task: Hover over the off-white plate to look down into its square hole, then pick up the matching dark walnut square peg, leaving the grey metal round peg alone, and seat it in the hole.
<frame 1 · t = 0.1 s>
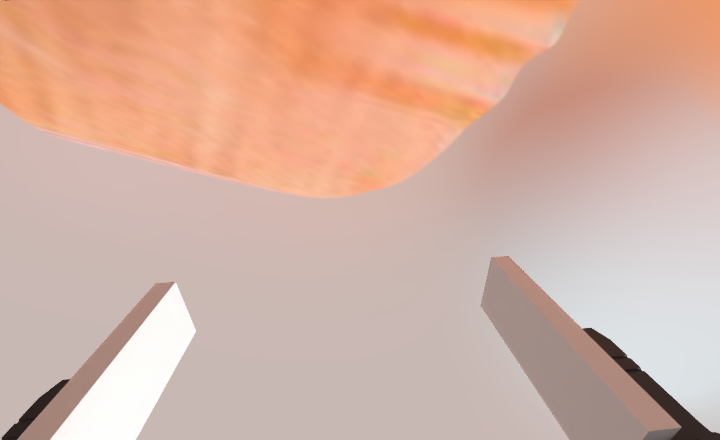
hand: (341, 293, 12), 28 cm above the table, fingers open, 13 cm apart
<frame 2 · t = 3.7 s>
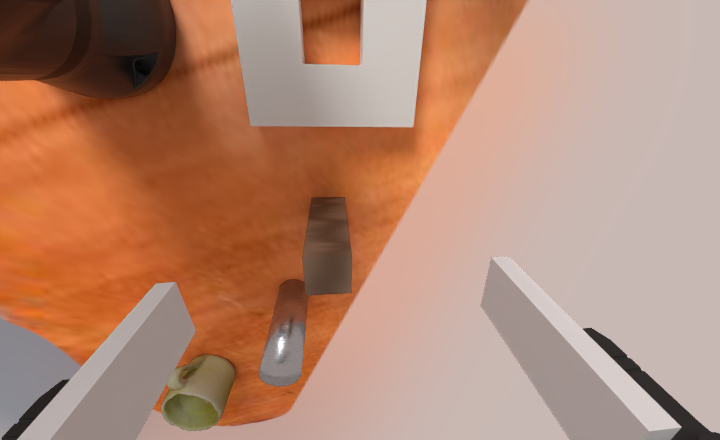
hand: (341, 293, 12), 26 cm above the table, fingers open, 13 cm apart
socket plate: (331, 33, 29), on the table
mug: (207, 361, 50), on the table
square peg: (328, 212, 39), on the table
round peg: (294, 291, 44), on the table
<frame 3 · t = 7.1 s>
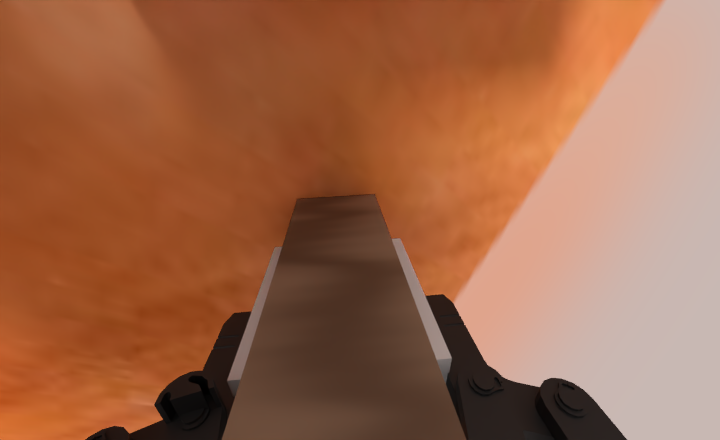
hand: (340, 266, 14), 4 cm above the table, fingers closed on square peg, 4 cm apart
square peg: (338, 230, 17), on the table, touching gripper
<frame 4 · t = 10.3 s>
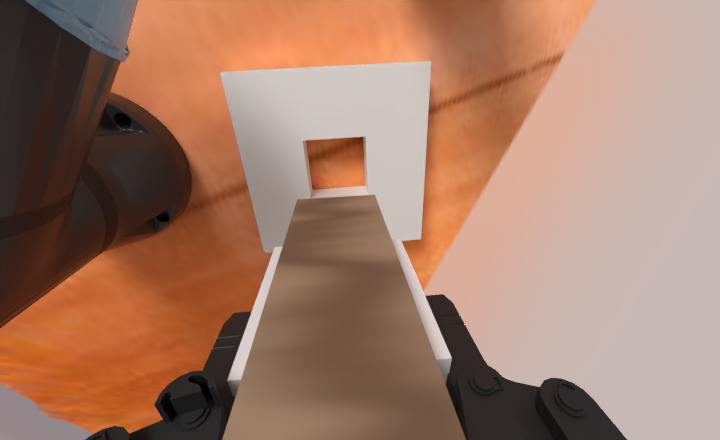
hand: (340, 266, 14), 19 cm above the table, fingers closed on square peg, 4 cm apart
socket plate: (336, 161, 30), on the table
square peg: (338, 230, 17), point 15 cm above the table, touching gripper
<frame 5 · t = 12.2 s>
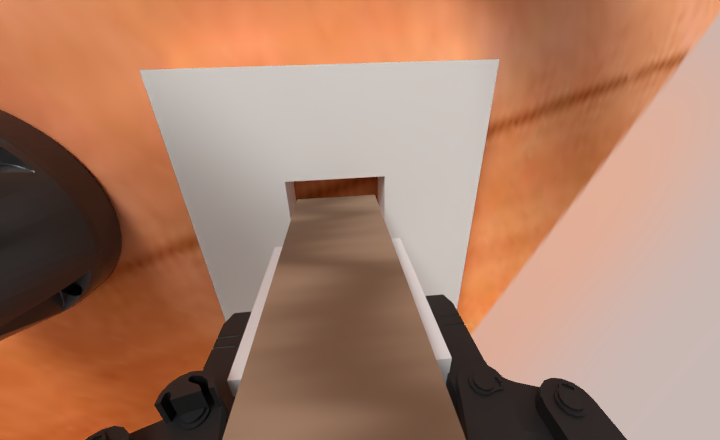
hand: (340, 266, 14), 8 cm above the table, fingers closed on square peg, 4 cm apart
socket plate: (337, 205, 20), on the table
square peg: (338, 230, 17), point 4 cm above the table, touching gripper
when the fingers open (5 cm above the table, at t = 13.7 s): square peg stays where it is, resting in socket plate.
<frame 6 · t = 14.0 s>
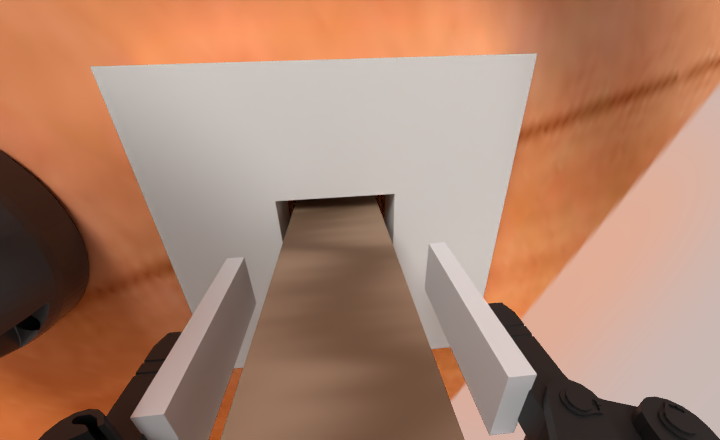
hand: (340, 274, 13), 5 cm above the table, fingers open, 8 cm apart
socket plate: (338, 223, 18), on the table
square peg: (338, 223, 18), resting in socket plate
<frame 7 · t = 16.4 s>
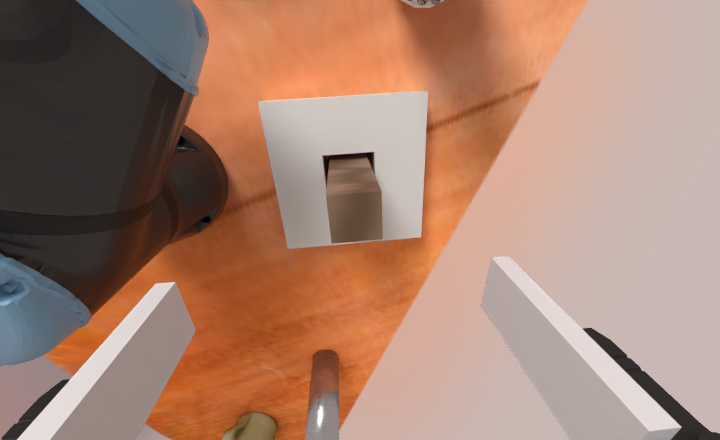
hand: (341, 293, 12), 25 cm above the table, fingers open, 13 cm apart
socket plate: (349, 171, 36), on the table
mug: (252, 417, 57), on the table
square peg: (349, 171, 36), resting in socket plate
round peg: (325, 358, 51), on the table
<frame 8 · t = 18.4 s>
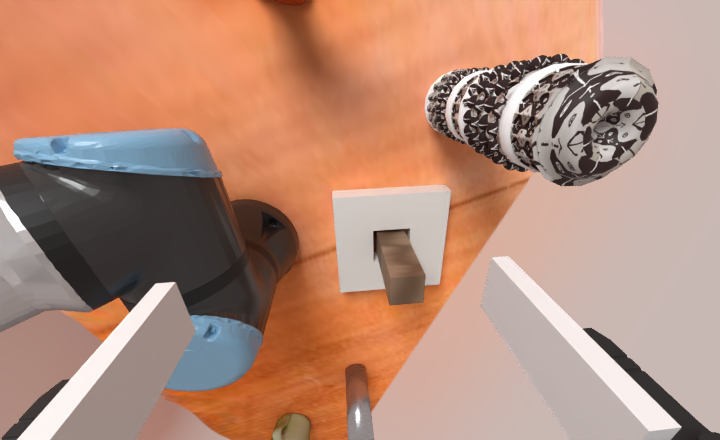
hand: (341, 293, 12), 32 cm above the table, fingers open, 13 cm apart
socket plate: (388, 236, 48), on the table
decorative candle: (452, 103, 39), on the table
mug: (291, 417, 69), on the table
square peg: (388, 236, 48), resting in socket plate
round peg: (355, 370, 63), on the table
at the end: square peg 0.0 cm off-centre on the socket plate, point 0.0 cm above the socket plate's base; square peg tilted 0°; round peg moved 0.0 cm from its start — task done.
